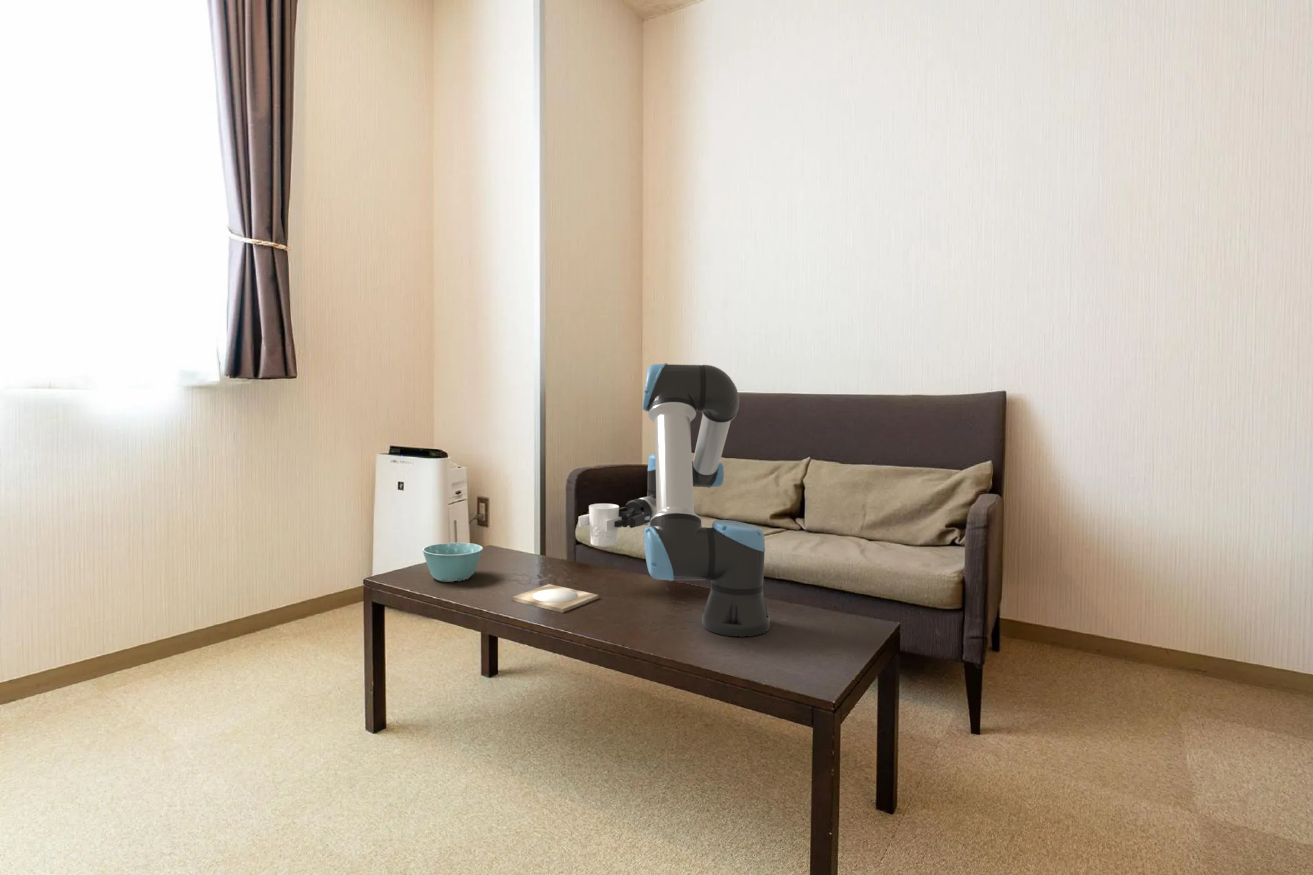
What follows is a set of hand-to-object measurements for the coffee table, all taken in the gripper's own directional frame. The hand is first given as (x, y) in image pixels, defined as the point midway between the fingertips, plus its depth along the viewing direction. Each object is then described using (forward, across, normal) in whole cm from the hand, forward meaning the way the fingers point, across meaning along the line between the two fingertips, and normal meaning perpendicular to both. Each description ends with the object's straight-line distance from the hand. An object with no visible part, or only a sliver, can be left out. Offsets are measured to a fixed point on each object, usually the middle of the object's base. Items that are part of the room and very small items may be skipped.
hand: (592, 523), depth 181 cm
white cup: (-5, 0, -6) cm, 8 cm away
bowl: (+11, +38, -18) cm, 44 cm away
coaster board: (+10, +4, -18) cm, 21 cm away
